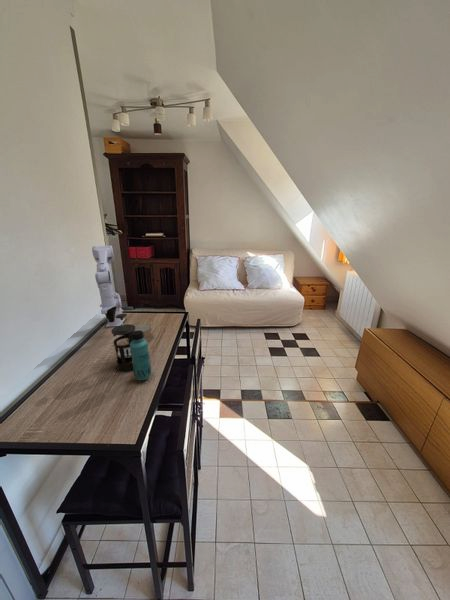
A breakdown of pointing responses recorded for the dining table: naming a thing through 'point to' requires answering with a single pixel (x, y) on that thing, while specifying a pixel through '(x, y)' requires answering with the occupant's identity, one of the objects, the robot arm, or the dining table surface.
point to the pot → (144, 331)
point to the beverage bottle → (140, 356)
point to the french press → (124, 350)
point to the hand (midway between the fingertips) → (111, 321)
